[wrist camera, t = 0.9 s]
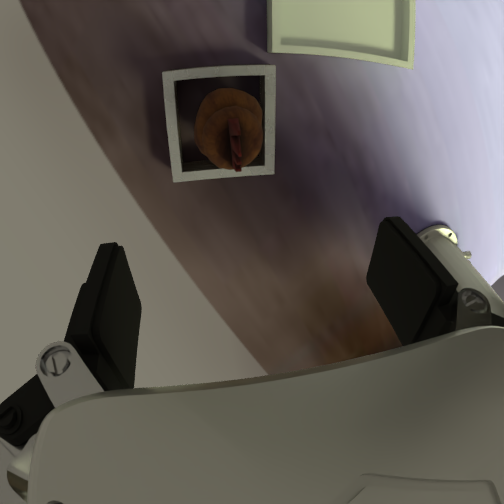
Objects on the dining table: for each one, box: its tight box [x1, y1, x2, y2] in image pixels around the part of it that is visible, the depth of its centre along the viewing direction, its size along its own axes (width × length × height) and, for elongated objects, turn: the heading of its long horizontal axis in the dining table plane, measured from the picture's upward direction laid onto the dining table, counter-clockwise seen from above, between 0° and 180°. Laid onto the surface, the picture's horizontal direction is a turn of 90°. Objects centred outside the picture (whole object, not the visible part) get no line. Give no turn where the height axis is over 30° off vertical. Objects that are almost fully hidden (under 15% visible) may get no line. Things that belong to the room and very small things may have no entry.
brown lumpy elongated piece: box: [194, 88, 263, 172], centre depth 24 cm, size 7×6×15 cm
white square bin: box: [162, 64, 276, 183], centre depth 29 cm, size 10×11×3 cm
